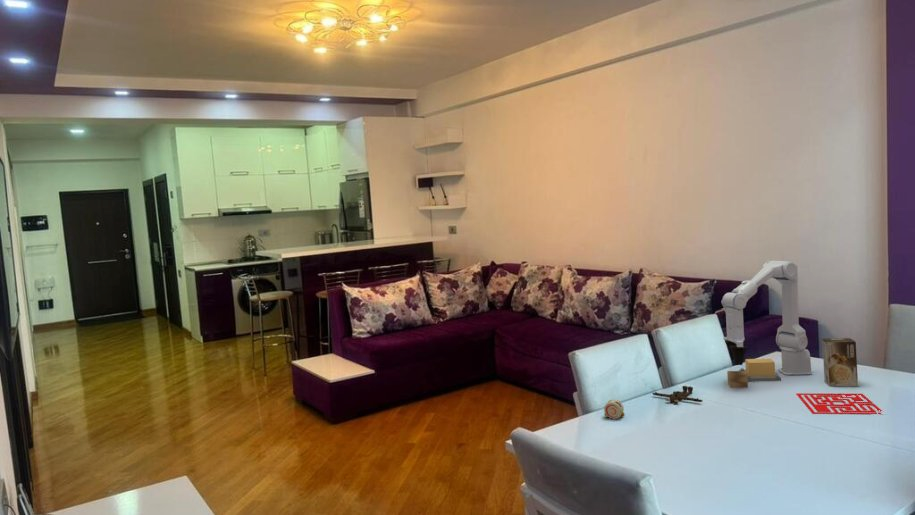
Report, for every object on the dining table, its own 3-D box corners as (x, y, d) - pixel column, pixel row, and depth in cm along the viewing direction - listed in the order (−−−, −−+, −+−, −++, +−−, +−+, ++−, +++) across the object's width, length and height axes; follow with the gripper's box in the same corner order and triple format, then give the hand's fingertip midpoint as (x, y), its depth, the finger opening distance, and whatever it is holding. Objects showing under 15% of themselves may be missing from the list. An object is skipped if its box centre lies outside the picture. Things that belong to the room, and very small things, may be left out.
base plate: (772, 372, 239) (772, 367, 239) (781, 380, 227) (781, 376, 227) (739, 372, 242) (738, 368, 242) (746, 381, 230) (746, 376, 230)
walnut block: (745, 384, 228) (744, 370, 227) (748, 387, 223) (747, 374, 223) (727, 384, 229) (727, 371, 229) (730, 387, 225) (729, 374, 224)
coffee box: (852, 381, 220) (851, 337, 219) (858, 387, 214) (857, 341, 213) (823, 381, 223) (822, 338, 222) (828, 386, 217) (827, 342, 216)
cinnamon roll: (606, 414, 208) (605, 397, 207) (625, 415, 205) (624, 399, 204) (603, 418, 204) (602, 401, 203) (622, 420, 201) (621, 403, 201)
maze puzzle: (885, 416, 188) (885, 413, 188) (812, 415, 193) (812, 413, 193) (862, 395, 207) (862, 393, 207) (796, 395, 212) (796, 393, 212)
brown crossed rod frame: (713, 388, 217) (696, 396, 206) (713, 400, 217) (697, 408, 206) (664, 382, 229) (646, 388, 218) (664, 393, 229) (646, 400, 218)
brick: (771, 371, 236) (770, 358, 236) (775, 375, 231) (774, 362, 230) (745, 371, 238) (745, 359, 238) (749, 375, 233) (748, 362, 232)
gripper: (719, 322, 232) (721, 357, 233) (727, 330, 218) (729, 367, 219) (739, 321, 231) (741, 356, 232) (748, 329, 217) (750, 367, 218)
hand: (736, 362), depth 225 cm, fingers open, 7 cm apart
